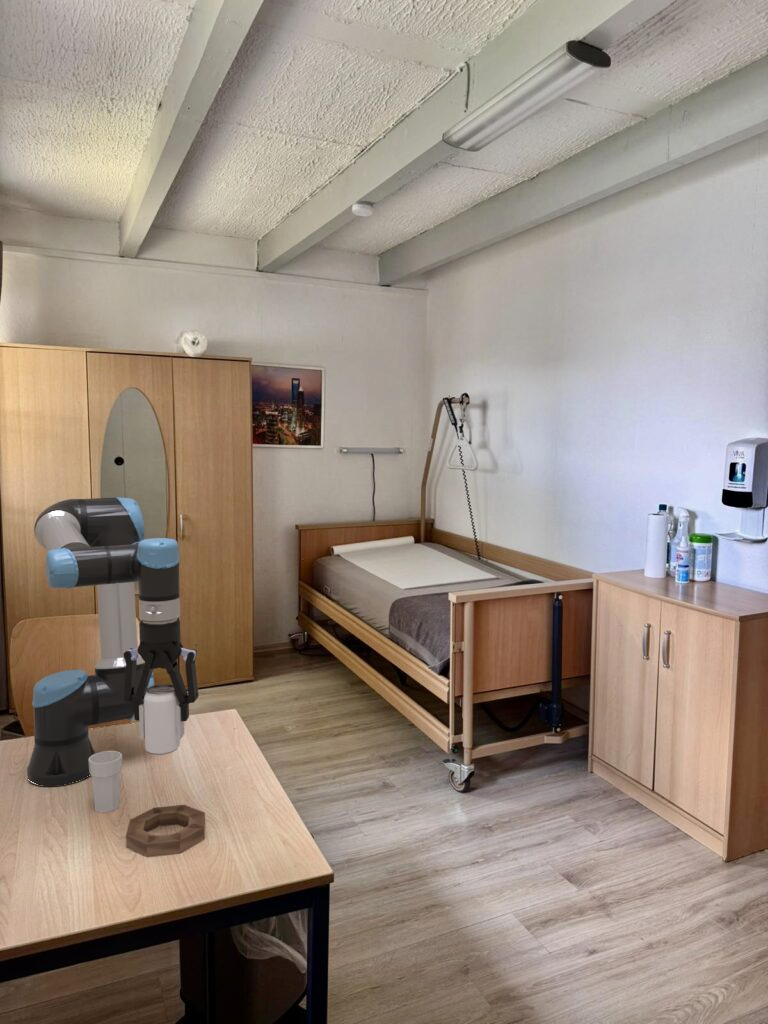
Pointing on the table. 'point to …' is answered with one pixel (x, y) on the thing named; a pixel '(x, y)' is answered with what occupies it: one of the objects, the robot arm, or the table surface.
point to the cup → (105, 779)
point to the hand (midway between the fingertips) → (162, 736)
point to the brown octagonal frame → (165, 843)
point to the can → (160, 719)
